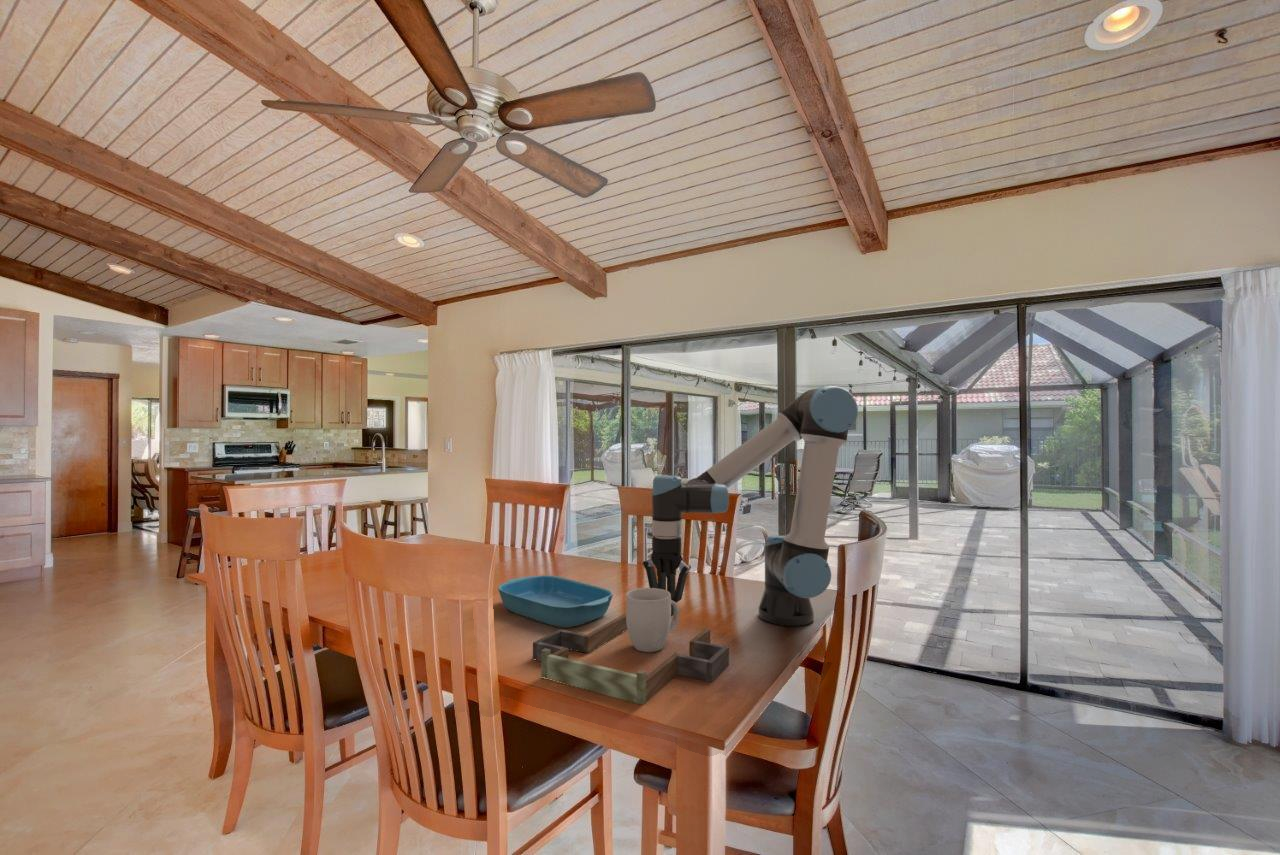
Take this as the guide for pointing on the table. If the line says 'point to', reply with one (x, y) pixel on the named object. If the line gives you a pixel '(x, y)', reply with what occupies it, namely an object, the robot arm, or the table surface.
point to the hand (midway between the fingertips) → (666, 627)
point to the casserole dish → (555, 600)
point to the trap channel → (619, 684)
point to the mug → (650, 618)
